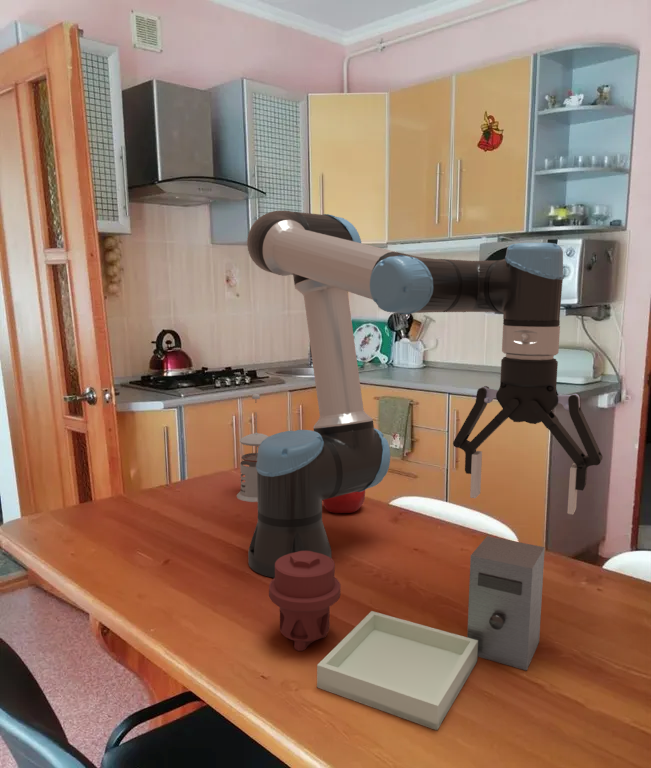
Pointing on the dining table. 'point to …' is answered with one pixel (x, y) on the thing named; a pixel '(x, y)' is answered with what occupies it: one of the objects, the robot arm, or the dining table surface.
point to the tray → (399, 668)
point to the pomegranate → (345, 502)
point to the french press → (250, 465)
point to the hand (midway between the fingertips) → (521, 503)
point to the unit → (506, 600)
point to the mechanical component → (304, 595)
